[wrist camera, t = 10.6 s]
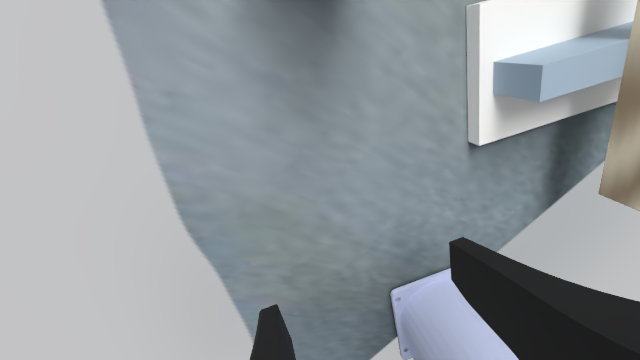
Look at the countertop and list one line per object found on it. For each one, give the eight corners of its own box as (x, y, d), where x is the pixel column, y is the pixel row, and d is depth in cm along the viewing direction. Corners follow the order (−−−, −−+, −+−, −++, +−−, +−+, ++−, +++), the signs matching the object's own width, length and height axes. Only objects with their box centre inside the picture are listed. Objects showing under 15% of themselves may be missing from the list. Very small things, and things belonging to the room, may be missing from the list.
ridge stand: (645, 84, 25) (729, 92, 21) (468, 141, 23) (520, 163, 19) (677, -50, 21) (789, -74, 17) (466, 6, 19) (531, -6, 15)
